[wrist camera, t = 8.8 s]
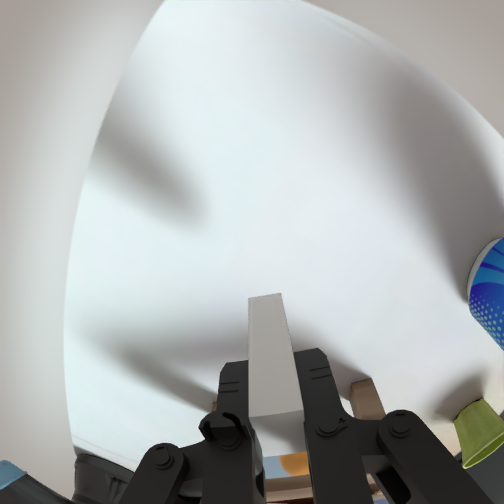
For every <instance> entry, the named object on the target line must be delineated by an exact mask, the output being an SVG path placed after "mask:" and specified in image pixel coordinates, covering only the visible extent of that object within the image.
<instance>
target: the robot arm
mask: <svg viewBox="0 0 504 504" xmlns="http://www.w3.org/2000/svg"><path fill="white" fill-rule="evenodd" d="M248 328H249V360H246V361H238V362H229V363H226V364H225V366H224V367H223V369H222V371H221V372H220V379H219V388H218V398H217V408H216V411H213V412H211V413H209V414H207V415H206V416H205V417H204V418H203V419H202V420H201V422H200V425H199V427H198V428H199V430H200V431H201V433H202V435H203V436H204V438H205V440H203V441H202V442H199V443H197V444H193V445H190V446H186V447H182V448H178V447H177V446H175V445H173V444H171V443H160V444H156V445H154V446H153V447H151V448H149V450H148V451H147V452H146V453H145V455H144V457H143V458H142V460H141V462H140V464H139V466H138V468H137V469H136V471H135V473H133V472H131V471H129V470H127V469H125V468H123V467H121V466H118V465H116V464H114V463H111V462H109V461H106V460H103V459H100V458H97V457H94V456H90V455H85V454H80V455H78V456H77V459H76V462H75V491H74V495H73V497H72V500H69V499H67V498H65V497H63V496H62V495H60V494H58V493H56V492H55V491H53V490H51V489H50V488H48V487H47V486H45V485H43V484H42V483H40V482H39V481H37V480H36V479H34V478H33V477H31V476H30V475H28V474H27V472H25V471H22V470H21V469H19V468H18V467H17V466H15V465H14V464H12V463H11V462H9V461H6V460H2V461H0V504H267V501H266V480H265V470H264V466H263V459H262V454H263V457H270V456H278V455H286V454H293V453H299V452H305V451H307V457H308V467H309V473H310V480H311V486H312V493H313V500H314V504H374V502H373V498H372V494H371V490H370V487H369V483H368V479H367V476H366V473H370V475H371V476H372V478H373V479H374V481H375V482H376V484H377V486H378V487H379V489H380V490H381V492H382V493H383V495H384V496H385V498H386V499H387V501H388V502H389V504H494V503H493V502H492V501H491V500H490V499H489V498H488V496H487V495H486V494H485V493H484V492H483V490H482V489H481V488H480V487H479V486H478V484H477V483H476V482H475V481H474V480H473V479H472V477H471V476H470V475H469V474H468V473H467V472H466V470H465V469H464V468H463V467H462V466H461V465H460V463H459V462H458V461H457V460H456V459H455V458H454V456H453V455H452V454H451V453H450V452H449V451H448V450H447V448H446V447H445V446H444V445H443V444H442V443H441V442H440V440H439V439H438V438H437V437H436V436H435V435H434V434H433V432H432V431H431V430H430V429H429V428H428V427H427V426H426V424H425V423H424V422H423V421H422V420H421V419H420V418H419V417H418V416H417V415H416V414H415V413H413V412H411V411H408V410H395V411H393V412H390V413H388V414H387V415H386V416H384V417H383V418H382V420H362V419H357V418H354V417H352V416H350V415H349V414H348V413H347V412H346V411H345V410H344V408H343V406H342V404H341V400H340V397H339V394H338V391H337V387H336V384H335V381H334V378H333V376H332V372H331V369H330V365H329V362H328V359H327V356H326V355H325V354H324V353H323V352H322V351H321V350H320V349H319V348H315V349H309V350H304V351H299V352H293V350H292V345H291V340H290V335H289V330H288V325H287V320H286V315H285V310H284V305H283V300H282V295H281V293H277V294H271V295H265V296H259V297H253V298H248Z"/></svg>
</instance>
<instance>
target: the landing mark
mask: <svg viewBox="0 0 504 504" xmlns="http://www.w3.org/2000/svg"><path fill="white" fill-rule="evenodd" d="M262 459H263V466H264V470H265V479H272V478H283V477H291V475H289V474H288V473H287V472H286V471H285V470H284V469H283V468H282V466H281V465H280V462H279V455H278V456H270V457H263V454H262Z"/></svg>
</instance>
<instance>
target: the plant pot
mask: <svg viewBox="0 0 504 504" xmlns="http://www.w3.org/2000/svg"><path fill="white" fill-rule="evenodd" d="M454 425H455V428H456V432H457V435H458V438H459V442H460V446H461V450H462V454H463V457H462V460H463V465H462V467H463V468H464V469H466V468H468V467H471V466H473V465H474V464H476V463H478V462H480V461H481V460H483V459H484V458H485V457H487V456H488V455H490V454H491V453H492V452H493V451H495V450H496V449H497V448H498V447H499V446H500V445H502V444H503V443H504V422H503V420H502V419H501V418H500V417H499V416H498V414H497V413H496V412H495V411H494V410H493V409H492V408H491V406H490V405H489V404H488V403H487V402H486V401H485V400H484V399H480V400H479V401H476V402H473V403H471V404H469V405H468V406H467V407H466V408H465V409H463V410H462V411H461V412H460V413H459V415H458V417H457V419H455V420H454Z"/></svg>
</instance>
